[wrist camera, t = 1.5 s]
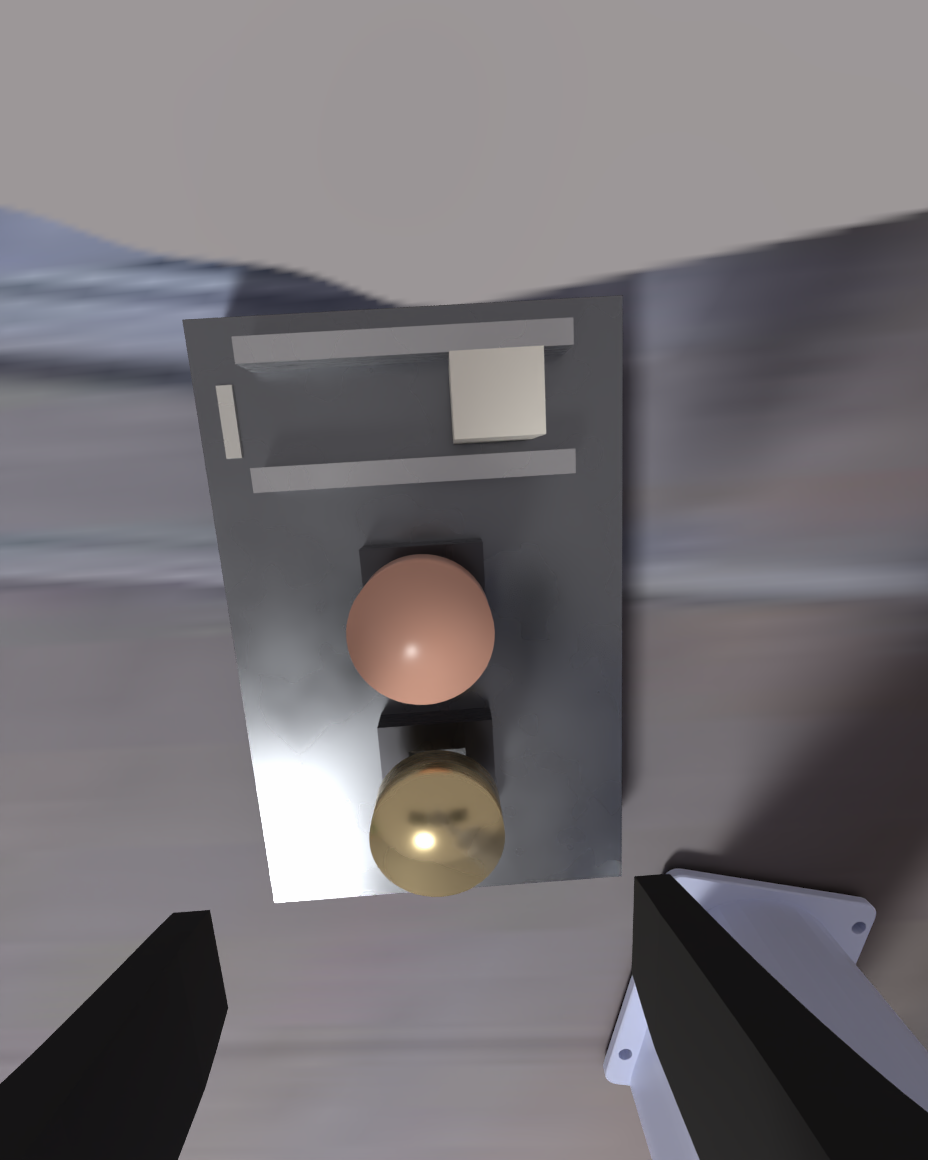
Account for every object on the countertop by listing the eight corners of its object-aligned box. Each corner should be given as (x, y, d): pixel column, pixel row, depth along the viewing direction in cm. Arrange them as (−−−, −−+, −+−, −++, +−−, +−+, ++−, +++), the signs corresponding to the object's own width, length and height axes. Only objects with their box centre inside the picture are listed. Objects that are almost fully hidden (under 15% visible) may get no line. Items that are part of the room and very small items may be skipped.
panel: (603, 833, 19) (632, 901, 16) (292, 857, 18) (263, 929, 16) (599, 318, 15) (636, 281, 12) (217, 339, 15) (160, 307, 12)
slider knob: (530, 439, 14) (545, 433, 11) (453, 444, 14) (454, 439, 11) (528, 365, 13) (543, 345, 11) (448, 370, 13) (448, 351, 11)
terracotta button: (490, 665, 14) (498, 699, 12) (368, 673, 14) (354, 709, 12) (484, 544, 13) (491, 558, 11) (355, 552, 13) (338, 568, 11)
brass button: (499, 832, 15) (508, 891, 13) (385, 841, 15) (375, 901, 13) (494, 728, 14) (501, 772, 12) (374, 736, 14) (362, 782, 12)
